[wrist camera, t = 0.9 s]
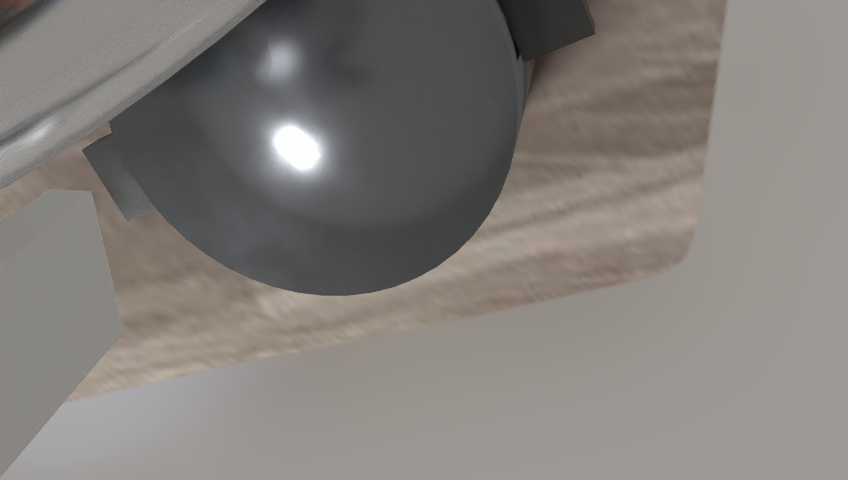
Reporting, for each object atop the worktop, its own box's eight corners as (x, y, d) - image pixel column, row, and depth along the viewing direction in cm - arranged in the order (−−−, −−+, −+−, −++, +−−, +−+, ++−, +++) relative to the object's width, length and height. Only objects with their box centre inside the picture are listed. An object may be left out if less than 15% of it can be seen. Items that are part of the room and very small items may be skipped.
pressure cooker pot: (102, -64, 45) (-62, -24, 34) (497, -287, 37) (455, -333, 26) (274, 237, 52) (185, 353, 41) (639, 105, 44) (654, 204, 33)
